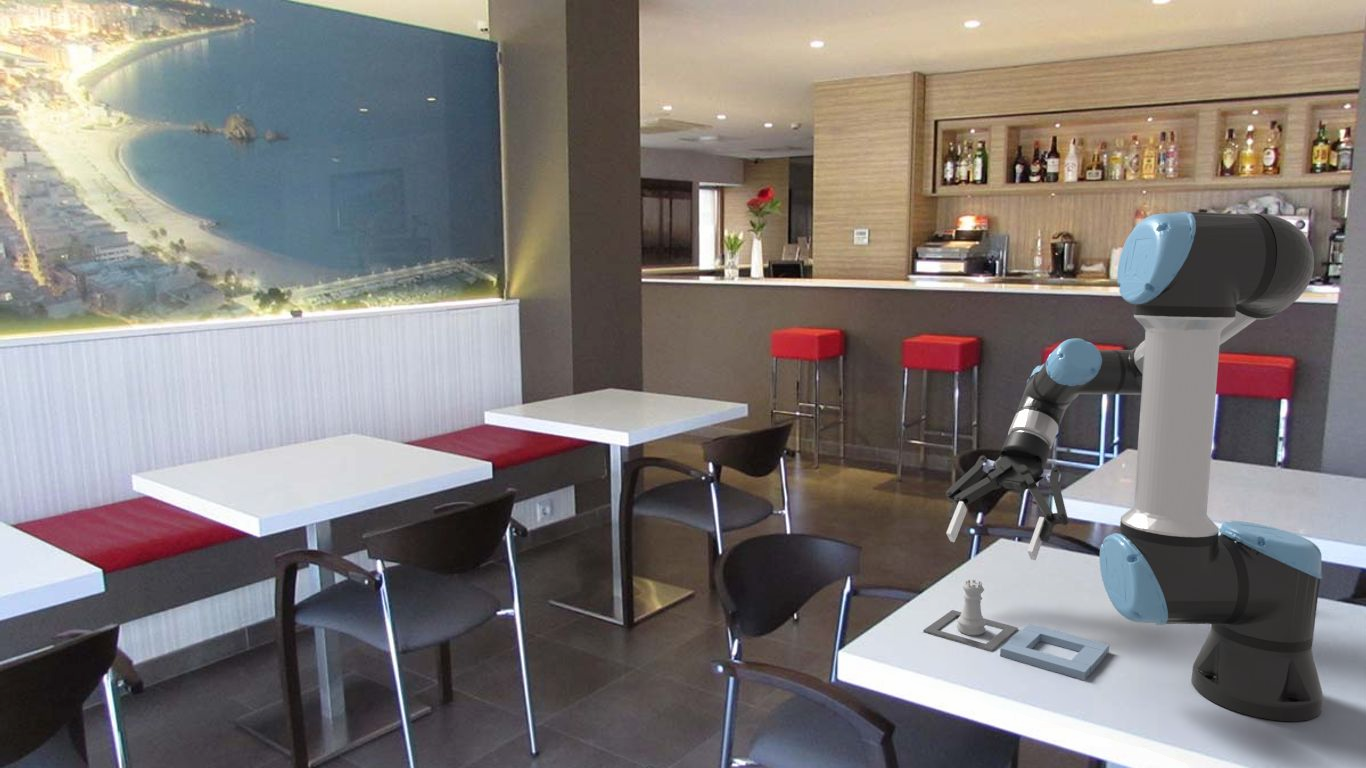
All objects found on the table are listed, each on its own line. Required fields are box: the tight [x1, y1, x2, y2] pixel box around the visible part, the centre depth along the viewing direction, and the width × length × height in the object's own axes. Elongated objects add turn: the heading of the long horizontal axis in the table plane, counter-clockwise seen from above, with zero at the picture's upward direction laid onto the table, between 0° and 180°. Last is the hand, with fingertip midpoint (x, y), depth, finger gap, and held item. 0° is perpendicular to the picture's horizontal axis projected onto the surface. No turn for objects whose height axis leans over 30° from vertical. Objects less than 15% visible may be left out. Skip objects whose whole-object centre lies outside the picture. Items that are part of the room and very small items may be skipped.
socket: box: [999, 623, 1110, 681], centre depth 138 cm, size 12×12×1 cm
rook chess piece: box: [956, 579, 986, 637], centre depth 145 cm, size 4×4×8 cm
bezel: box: [922, 609, 1019, 652], centre depth 146 cm, size 11×11×1 cm
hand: (989, 546), depth 151 cm, fingers open, 13 cm apart
